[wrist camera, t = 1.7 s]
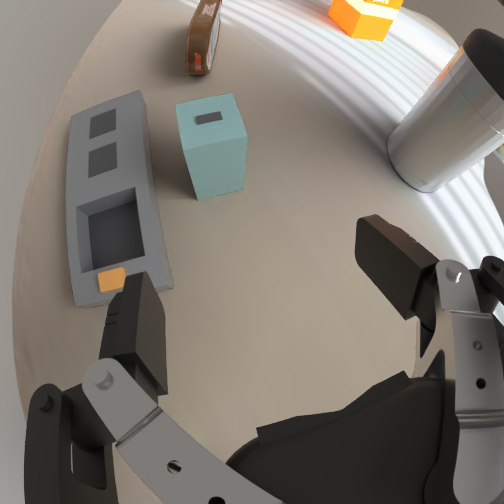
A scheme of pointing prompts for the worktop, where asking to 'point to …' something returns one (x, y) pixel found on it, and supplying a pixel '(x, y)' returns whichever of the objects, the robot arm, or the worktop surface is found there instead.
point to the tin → (203, 37)
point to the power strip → (112, 202)
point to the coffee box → (499, 153)
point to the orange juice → (365, 17)
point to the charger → (213, 144)
